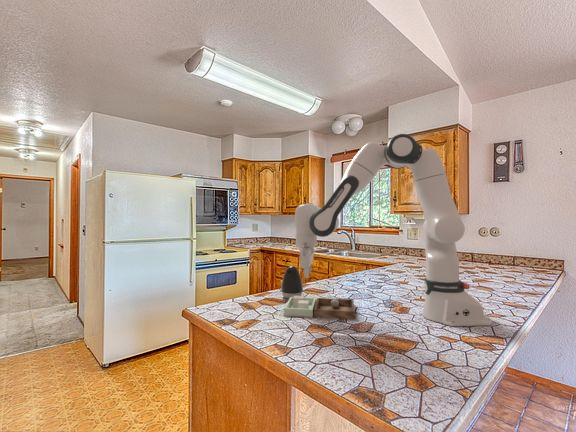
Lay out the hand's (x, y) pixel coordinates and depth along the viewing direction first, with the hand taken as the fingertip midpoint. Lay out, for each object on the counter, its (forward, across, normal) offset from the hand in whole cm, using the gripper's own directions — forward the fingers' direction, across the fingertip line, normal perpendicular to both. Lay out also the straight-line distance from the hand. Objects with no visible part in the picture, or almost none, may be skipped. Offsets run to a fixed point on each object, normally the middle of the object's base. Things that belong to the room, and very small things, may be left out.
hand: (307, 275), depth 126 cm
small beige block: (+13, -9, +1) cm, 16 cm away
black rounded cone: (+13, +12, +9) cm, 20 cm away
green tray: (+14, -6, +3) cm, 15 cm away
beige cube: (+13, -2, +4) cm, 13 cm away
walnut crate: (+14, -6, -11) cm, 18 cm away
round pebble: (+13, -1, -11) cm, 17 cm away
